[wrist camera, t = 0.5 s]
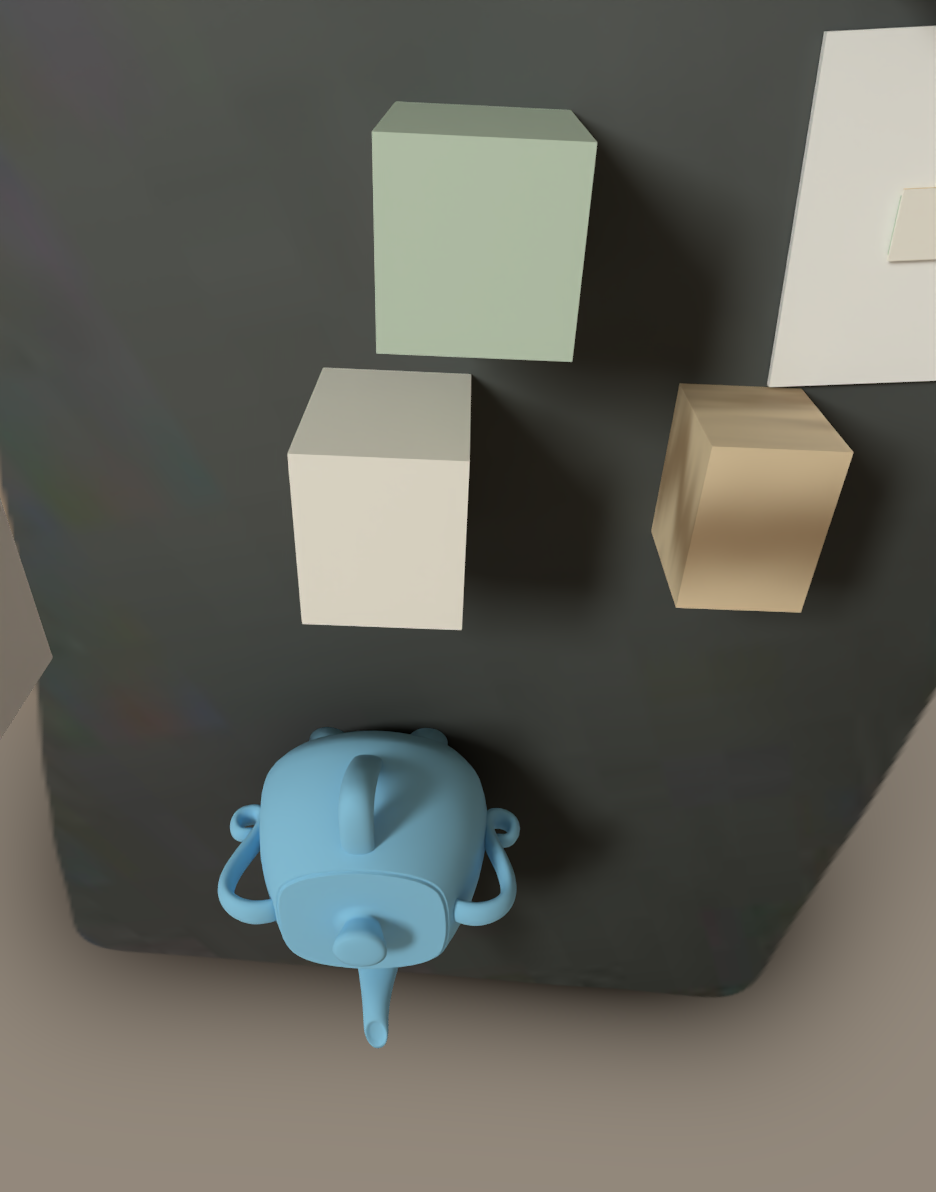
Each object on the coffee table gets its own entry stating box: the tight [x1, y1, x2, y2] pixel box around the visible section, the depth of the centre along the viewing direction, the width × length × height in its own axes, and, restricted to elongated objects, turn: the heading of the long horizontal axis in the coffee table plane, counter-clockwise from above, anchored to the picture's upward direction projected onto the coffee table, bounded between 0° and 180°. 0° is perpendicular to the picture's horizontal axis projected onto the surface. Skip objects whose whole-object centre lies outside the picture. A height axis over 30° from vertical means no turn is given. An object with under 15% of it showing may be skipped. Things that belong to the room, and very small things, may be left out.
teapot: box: [218, 727, 520, 1048], centre depth 44 cm, size 13×14×11 cm
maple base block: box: [651, 383, 854, 613], centre depth 35 cm, size 7×5×6 cm
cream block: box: [287, 368, 471, 630], centre depth 33 cm, size 7×6×8 cm
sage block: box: [372, 102, 597, 362], centre depth 28 cm, size 6×6×8 cm
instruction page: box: [767, 25, 936, 387], centre depth 31 cm, size 12×9×1 cm
